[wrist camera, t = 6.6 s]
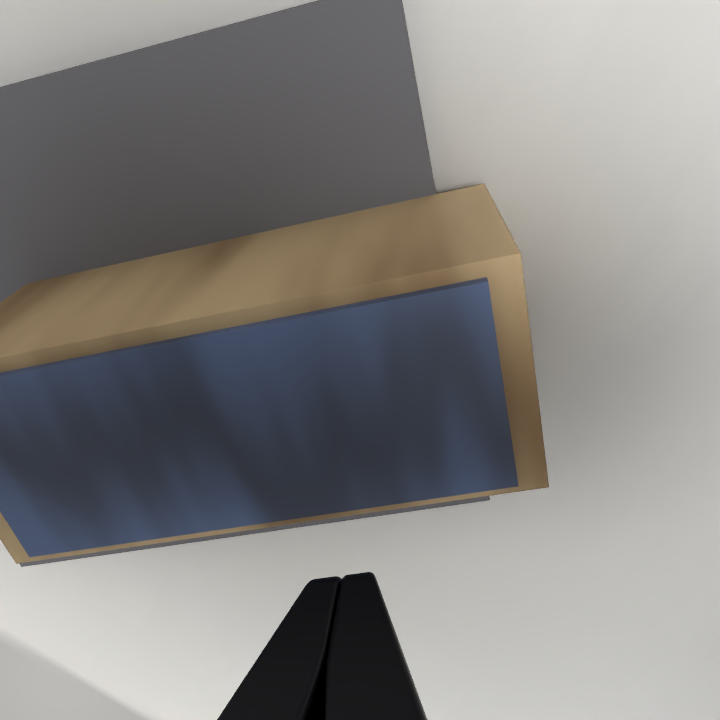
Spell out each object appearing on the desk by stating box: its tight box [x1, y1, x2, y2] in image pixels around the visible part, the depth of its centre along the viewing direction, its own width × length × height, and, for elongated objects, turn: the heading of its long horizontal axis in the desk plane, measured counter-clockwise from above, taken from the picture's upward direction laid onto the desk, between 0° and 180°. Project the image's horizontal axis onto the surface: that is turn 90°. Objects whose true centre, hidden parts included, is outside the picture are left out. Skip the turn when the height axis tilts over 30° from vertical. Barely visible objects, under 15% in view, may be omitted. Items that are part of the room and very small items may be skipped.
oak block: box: [0, 184, 549, 564], centre depth 15 cm, size 5×5×12 cm
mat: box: [0, 0, 490, 567], centre depth 18 cm, size 14×16×1 cm
